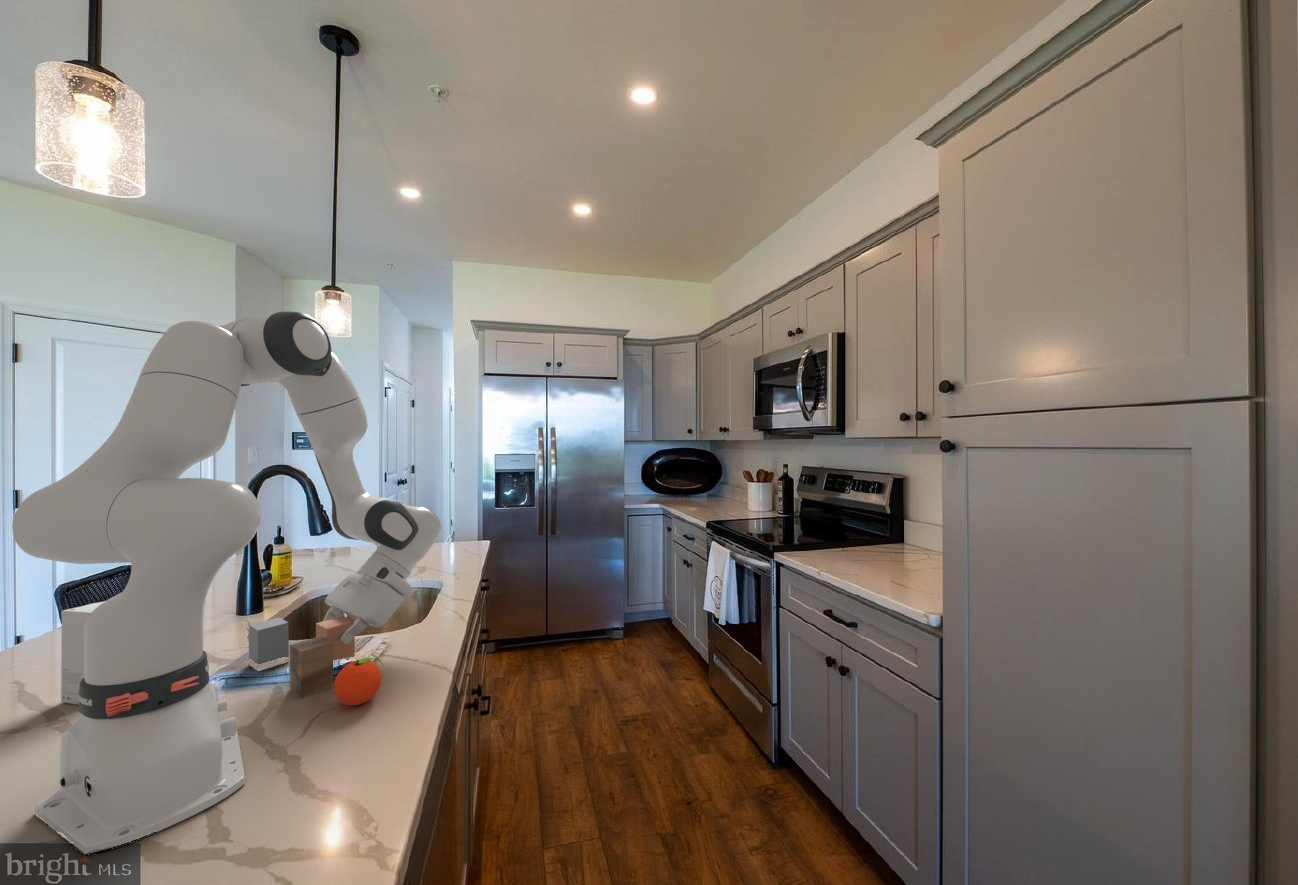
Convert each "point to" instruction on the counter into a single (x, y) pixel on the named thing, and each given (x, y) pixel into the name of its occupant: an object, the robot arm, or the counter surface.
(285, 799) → the counter surface
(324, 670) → the walnut block
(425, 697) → the counter surface
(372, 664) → the clementine
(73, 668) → the skincare box
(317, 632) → the terracotta block
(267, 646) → the slate-grey block
